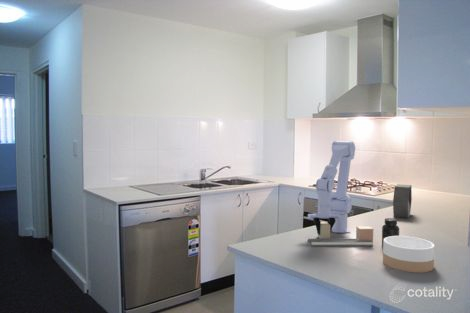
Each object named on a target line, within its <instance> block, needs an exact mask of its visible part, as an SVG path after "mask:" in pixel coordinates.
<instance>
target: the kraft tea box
mask: <svg viewBox="0 0 470 313" xmlns="http://www.w3.org/2000/svg"><path fill="white" fill-rule="evenodd" d="M317 237H318V239H331V234H330V224H329V223H328V221H321V222H320V235H318V234H317Z"/></svg>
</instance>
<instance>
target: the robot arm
mask: <svg viewBox="0 0 470 313" xmlns="http://www.w3.org/2000/svg"><path fill="white" fill-rule="evenodd" d="M331 153H332V154H331V157H330V160H329V164H328V165H325V167H324V170H323V172H322V174H321V177H319V178H318V179H317V180H316V182H315V189H316V194H317V213H308V214H307V219H308V220H311V219H312V220H313V222H314V225H315V229H316V232H317V233H316V234H317V236H318V235H320V222H322V221H321V220H323V219H324V220H325V219H327V222H328V223H329V224H330V235H331V233H332V232H333V233H339V234H340V233H342V234H343V233H344V234H345V233H346V234H347V233H351V231H350V230H349V229H348V216H349V213H350V212H352V208H353V204H352V197H351V196H350V195H349V194H348V193H347V191H348V183H349V176H350V169H351V162H352V160H353V159H354V158H355V153H356V146H355V143H354V141H352V140H350V141H345V140H344V141H341V140H334V141H333V142H332V143H331ZM337 167H338V168H337ZM337 173H338V174H337ZM336 175H338V176H337V183H336V191H335V192H334V193H332V192H333V190H334V187H335V186H334V185H335V178H336ZM320 219H321V220H320Z"/></svg>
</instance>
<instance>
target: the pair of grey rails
mask: <svg viewBox="0 0 470 313" xmlns="http://www.w3.org/2000/svg"><path fill="white" fill-rule="evenodd" d="M307 242H310V246H311V247H373V245H374V240H373V241H356V238H330V239H320V238H307Z"/></svg>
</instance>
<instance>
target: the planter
mask: <svg viewBox="0 0 470 313" xmlns="http://www.w3.org/2000/svg"><path fill="white" fill-rule="evenodd" d="M412 190H413V189H412V184H396V185H395V186H394V190H393V198H392V206H393V207H392V209H393V212H392V213H393V214H392V215H393V218H403V219H409V218H410V216H411V211H412V200H413V197H412V196H413V195H412V193H413V192H412Z"/></svg>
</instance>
